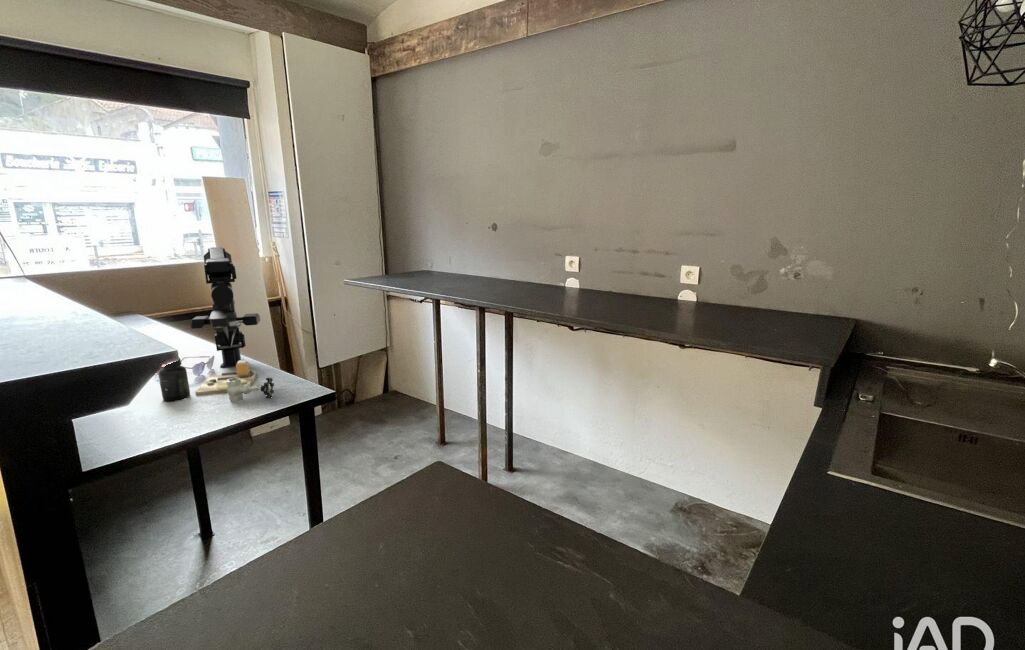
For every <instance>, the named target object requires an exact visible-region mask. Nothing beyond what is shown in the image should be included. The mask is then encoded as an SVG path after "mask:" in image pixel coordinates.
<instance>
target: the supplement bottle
mask: <svg viewBox="0 0 1025 650" xmlns="http://www.w3.org/2000/svg"><path fill="white" fill-rule="evenodd" d="M178 358H179V360H178V361H176V362H173V363H171V364H168V365H166V366H165V367H164V368H163V369H162V368H161V369H160V370H161V371H160V370H159V371H160V372H159V371H158V380H159V385H160V391H161V397H162V400H163V401H165V402H169V403H170V402H172V403H174V402H179V401H183V400H185V399H188V398H189V397H190V396H191V390H190V383H189V378H188V372H187V368H186V367H185V366H184V365H182V362H181V361H182V360H181V358H180V357H178Z"/></svg>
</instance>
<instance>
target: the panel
mask: <svg viewBox="0 0 1025 650" xmlns="http://www.w3.org/2000/svg"><path fill="white" fill-rule="evenodd" d="M256 376H257V377H258V372H257V371H253V370H250V373H249V375H244V376H237V371H228V372H222V373H221V374H217V375H216V374H215V375H210V376H208V377H207V379H206V380H205V381H204V382H203V383H202V384H201V385H200V387H198V389H197V390H196V391H195V393H194V394H195V396H196V397H198V396H199V397H200V396H208V395H209V396H211V395H221V394H228V393H227V387H228V385H227V380H228V379H230V378H235V377H238V378H240V379H241V385H242V386H244V384H249V385H251V384H253V383H254V381H255V380H256V378H257V377H256ZM255 377H256V378H255ZM254 379H255V380H254ZM252 382H253V383H252ZM251 386H252V385H251Z"/></svg>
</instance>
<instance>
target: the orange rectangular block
mask: <svg viewBox="0 0 1025 650" xmlns="http://www.w3.org/2000/svg"><path fill="white" fill-rule="evenodd" d="M249 364H250V363H249V360H247V359H244V360H243V359H241V360H240V361H238V362H237V364H236V366H235V367H236V372H237V376H244V375H249V373H250V371H251V370H250V366H249Z"/></svg>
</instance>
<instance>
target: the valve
mask: <svg viewBox="0 0 1025 650" xmlns="http://www.w3.org/2000/svg"><path fill="white" fill-rule="evenodd" d="M265 381H266V382H263V384H262V385H260V386H259V385H251V386H250V385H249V384H244V386H242V385H241V379H240V378H238V377H235V378H230V379H228V380H227V385H228V387H227V393H226V394H227V396H228V398H229V399H228V400H229V401H230V402H229V403H238V402H241V401H243V400H244V395H249V394H250V393H251V392H252V393H257V392H259V391H260V392H261V393H263V395H265V399H266V400H267V399H268V398H269V399H272V398H273V394H275V390H274V389H273V388H274V387H275V383H274V382H273V377H265ZM271 397H272V398H271ZM269 399H268V400H269Z"/></svg>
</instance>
